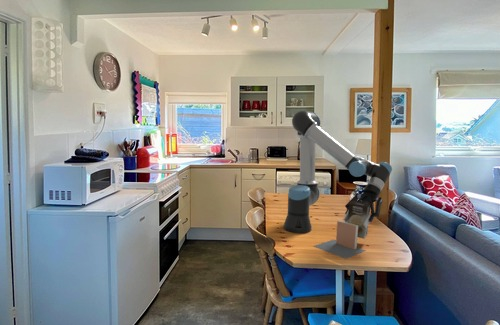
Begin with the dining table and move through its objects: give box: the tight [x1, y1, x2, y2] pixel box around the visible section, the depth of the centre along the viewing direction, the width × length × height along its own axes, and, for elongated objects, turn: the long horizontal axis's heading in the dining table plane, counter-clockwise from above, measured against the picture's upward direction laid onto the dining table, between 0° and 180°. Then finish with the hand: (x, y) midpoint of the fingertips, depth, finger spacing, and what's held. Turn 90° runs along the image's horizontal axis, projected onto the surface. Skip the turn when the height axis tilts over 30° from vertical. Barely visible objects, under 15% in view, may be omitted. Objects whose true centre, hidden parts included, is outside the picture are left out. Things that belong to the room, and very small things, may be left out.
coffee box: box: [347, 201, 371, 240], centre depth 163 cm, size 9×6×16 cm
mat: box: [312, 239, 366, 260], centre depth 155 cm, size 18×16×1 cm
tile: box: [335, 220, 358, 249], centre depth 158 cm, size 10×2×11 cm, turn 40°
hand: (354, 223), depth 161 cm, fingers closed on coffee box, 10 cm apart
